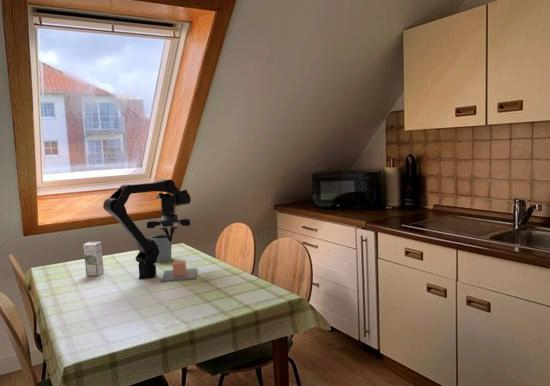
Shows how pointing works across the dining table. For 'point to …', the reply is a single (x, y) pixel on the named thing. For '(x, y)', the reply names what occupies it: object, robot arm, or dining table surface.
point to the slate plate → (169, 276)
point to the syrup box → (93, 258)
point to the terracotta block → (179, 268)
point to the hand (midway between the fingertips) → (170, 241)
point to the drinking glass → (163, 247)
